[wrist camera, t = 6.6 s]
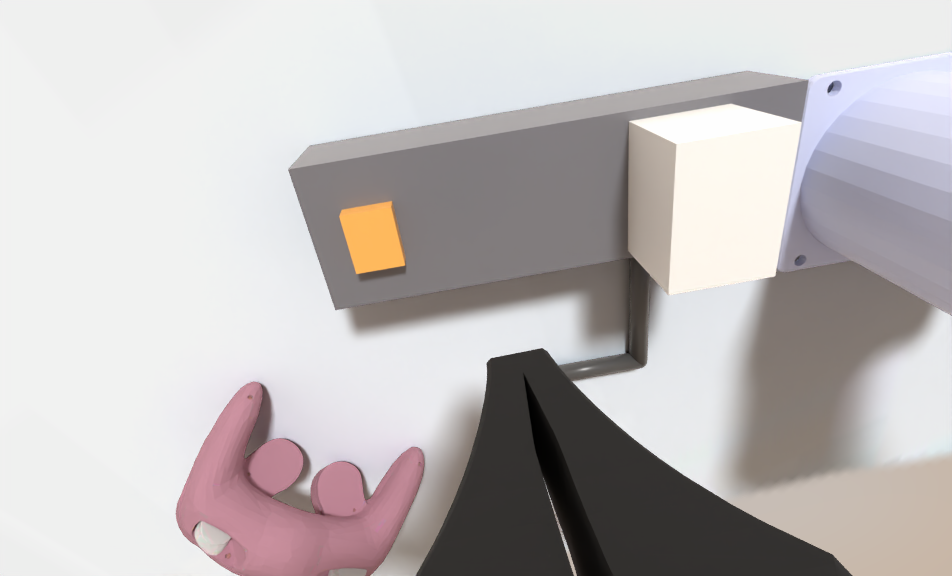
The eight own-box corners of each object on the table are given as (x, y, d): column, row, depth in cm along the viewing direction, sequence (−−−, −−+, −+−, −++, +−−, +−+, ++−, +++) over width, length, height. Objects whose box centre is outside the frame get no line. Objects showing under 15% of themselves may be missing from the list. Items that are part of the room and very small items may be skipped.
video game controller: (224, 400, 24) (140, 555, 20) (245, 368, 21) (150, 545, 17) (397, 467, 28) (358, 612, 23) (438, 448, 25) (401, 613, 20)
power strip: (747, 70, 18) (898, 93, 12) (716, 346, 24) (806, 447, 18) (309, 145, 17) (257, 204, 12) (389, 405, 23) (379, 525, 18)
